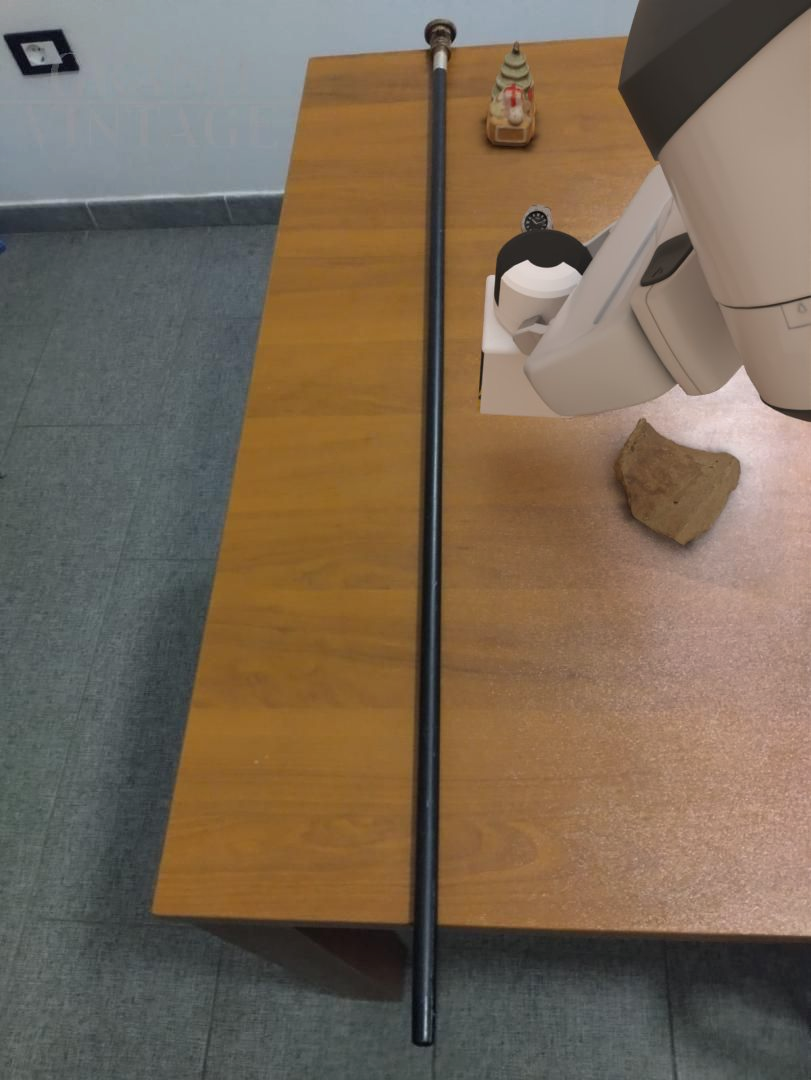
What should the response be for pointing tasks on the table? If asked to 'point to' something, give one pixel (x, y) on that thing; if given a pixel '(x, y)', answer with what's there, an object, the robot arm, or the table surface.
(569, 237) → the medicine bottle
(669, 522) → the pottery shard
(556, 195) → the table surface
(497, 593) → the table surface
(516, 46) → the ornament
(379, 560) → the table surface
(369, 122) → the table surface
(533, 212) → the wristwatch
